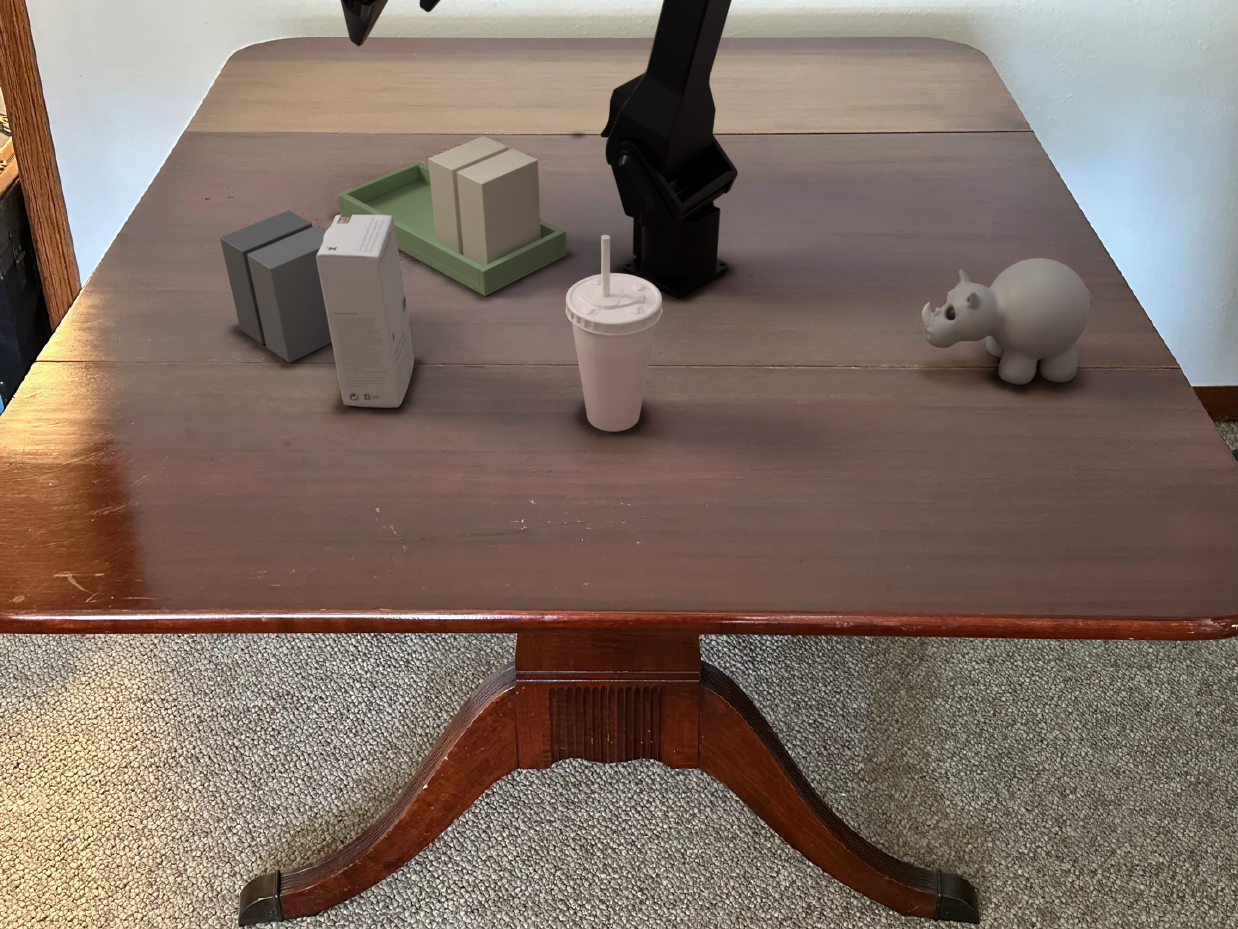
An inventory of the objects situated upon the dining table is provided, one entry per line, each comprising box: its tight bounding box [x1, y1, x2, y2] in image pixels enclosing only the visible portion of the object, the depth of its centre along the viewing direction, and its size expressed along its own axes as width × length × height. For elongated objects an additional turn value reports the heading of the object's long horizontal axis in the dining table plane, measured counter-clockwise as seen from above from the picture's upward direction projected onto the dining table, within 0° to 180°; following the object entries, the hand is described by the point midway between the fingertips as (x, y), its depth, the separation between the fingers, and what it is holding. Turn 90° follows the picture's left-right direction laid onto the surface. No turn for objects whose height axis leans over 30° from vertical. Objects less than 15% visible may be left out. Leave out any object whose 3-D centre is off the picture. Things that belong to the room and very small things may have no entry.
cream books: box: [427, 135, 541, 266], centre depth 99 cm, size 6×6×8 cm
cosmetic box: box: [316, 214, 415, 408], centre depth 84 cm, size 6×4×12 cm
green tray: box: [337, 160, 567, 297], centre depth 104 cm, size 19×9×2 cm, turn 47°
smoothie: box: [565, 234, 664, 432], centre depth 81 cm, size 6×6×14 cm
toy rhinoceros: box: [921, 257, 1093, 385], centre depth 87 cm, size 7×12×8 cm, turn 92°
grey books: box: [219, 209, 332, 364], centre depth 91 cm, size 6×6×8 cm
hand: (391, 25), depth 105 cm, fingers open, 9 cm apart
